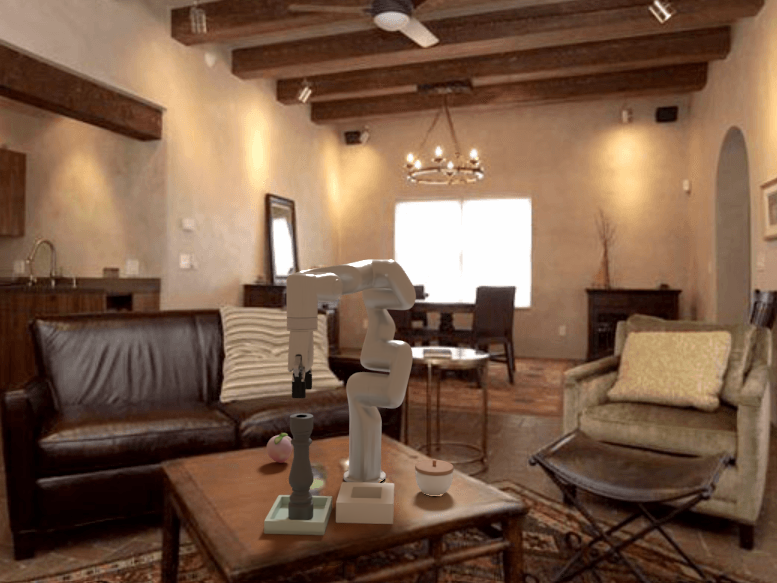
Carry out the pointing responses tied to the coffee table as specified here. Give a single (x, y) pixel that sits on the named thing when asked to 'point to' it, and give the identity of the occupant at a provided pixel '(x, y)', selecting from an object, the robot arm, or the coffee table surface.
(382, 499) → the socket block
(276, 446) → the decorative fruit
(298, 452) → the candle holder
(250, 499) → the coffee table surface
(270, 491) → the coffee table surface
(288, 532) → the parts tray
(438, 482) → the lidded jar
